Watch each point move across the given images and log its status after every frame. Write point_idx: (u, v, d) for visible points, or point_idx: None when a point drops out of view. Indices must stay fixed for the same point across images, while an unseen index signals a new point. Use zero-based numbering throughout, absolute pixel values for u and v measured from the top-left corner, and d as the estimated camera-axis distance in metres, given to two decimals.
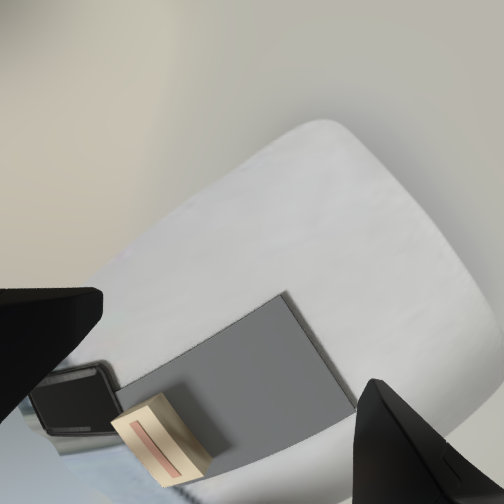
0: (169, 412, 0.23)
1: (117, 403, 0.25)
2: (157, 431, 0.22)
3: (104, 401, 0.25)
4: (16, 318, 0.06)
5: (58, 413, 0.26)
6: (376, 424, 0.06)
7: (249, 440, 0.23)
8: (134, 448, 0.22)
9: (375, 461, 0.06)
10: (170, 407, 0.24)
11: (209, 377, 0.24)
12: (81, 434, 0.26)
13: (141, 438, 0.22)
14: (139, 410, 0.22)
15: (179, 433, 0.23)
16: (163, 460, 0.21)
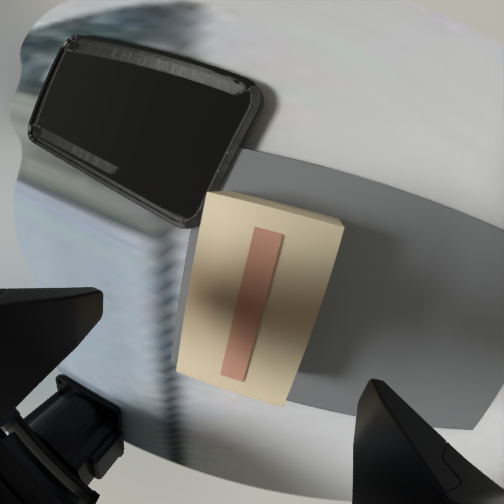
0: None
1: (226, 168, 0.14)
2: (302, 286, 0.11)
3: (200, 146, 0.14)
4: (16, 318, 0.06)
5: (78, 112, 0.15)
6: (376, 424, 0.06)
7: None
8: (203, 276, 0.12)
9: (375, 461, 0.06)
10: None
11: (431, 264, 0.13)
12: (85, 169, 0.15)
13: (247, 273, 0.11)
14: (313, 222, 0.10)
15: None
16: (244, 339, 0.12)
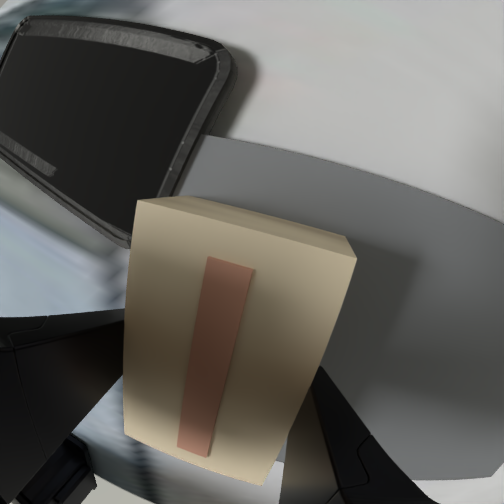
0: None
1: (181, 165, 0.09)
2: (286, 349, 0.07)
3: (148, 136, 0.09)
4: (64, 351, 0.06)
5: (21, 103, 0.10)
6: (303, 409, 0.07)
7: None
8: (140, 325, 0.07)
9: (298, 448, 0.06)
10: None
11: (468, 299, 0.08)
12: (25, 171, 0.11)
13: (200, 326, 0.07)
14: (305, 249, 0.06)
15: None
16: (202, 413, 0.08)
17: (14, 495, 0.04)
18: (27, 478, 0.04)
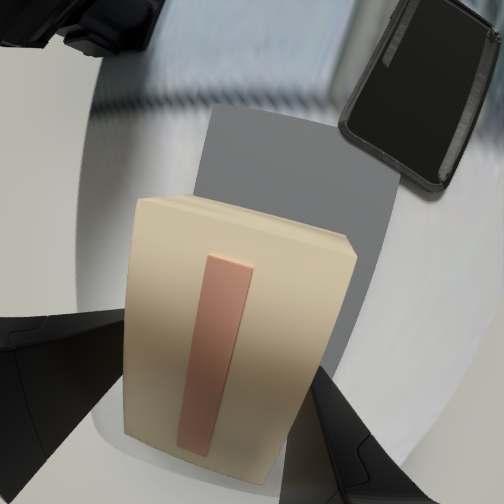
0: None
1: (385, 160, 0.16)
2: (286, 348, 0.07)
3: (402, 140, 0.16)
4: (64, 351, 0.06)
5: (434, 34, 0.13)
6: (303, 409, 0.07)
7: None
8: (140, 324, 0.07)
9: (298, 448, 0.06)
10: None
11: None
12: (386, 36, 0.14)
13: (200, 325, 0.07)
14: (305, 248, 0.06)
15: None
16: (202, 412, 0.08)
17: (14, 495, 0.04)
18: (27, 478, 0.04)
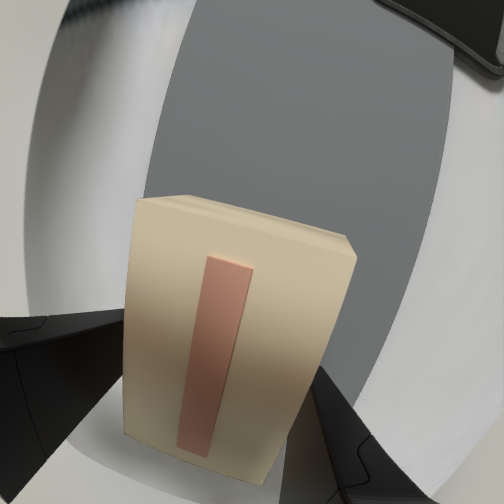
0: None
1: (431, 28, 0.09)
2: (286, 349, 0.07)
3: (446, 13, 0.08)
4: (64, 351, 0.06)
5: None
6: (303, 409, 0.07)
7: (194, 185, 0.13)
8: (140, 325, 0.07)
9: (298, 448, 0.06)
10: None
11: (354, 241, 0.12)
12: None
13: (200, 325, 0.07)
14: (305, 248, 0.06)
15: None
16: (202, 412, 0.08)
17: (14, 495, 0.04)
18: (26, 478, 0.04)
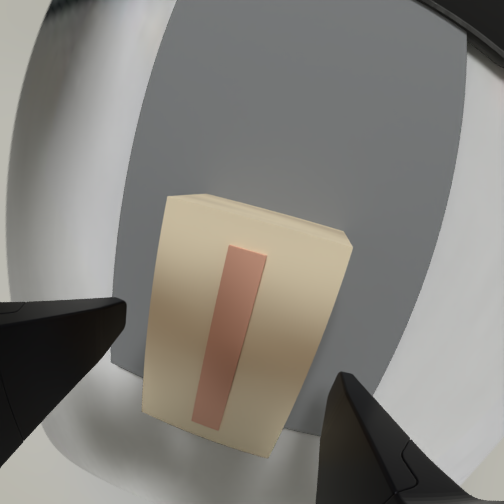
0: None
1: (440, 11, 0.07)
2: (293, 325, 0.08)
3: None
4: (39, 334, 0.06)
5: None
6: (339, 417, 0.06)
7: (177, 184, 0.11)
8: (165, 306, 0.09)
9: (337, 456, 0.06)
10: None
11: (358, 248, 0.10)
12: None
13: (220, 305, 0.08)
14: (310, 239, 0.08)
15: None
16: (217, 385, 0.09)
17: None
18: (4, 458, 0.05)
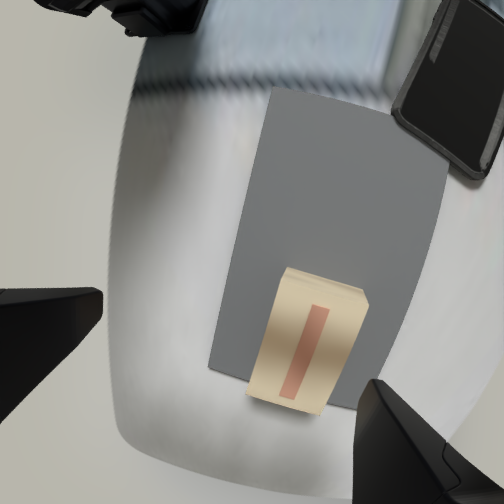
0: None
1: (434, 147, 0.16)
2: (339, 340, 0.16)
3: (448, 130, 0.15)
4: (16, 318, 0.06)
5: (471, 37, 0.13)
6: (376, 424, 0.06)
7: (269, 259, 0.19)
8: (274, 333, 0.17)
9: (375, 461, 0.06)
10: None
11: (370, 298, 0.18)
12: (431, 34, 0.14)
13: (304, 332, 0.17)
14: (350, 302, 0.16)
15: None
16: (298, 372, 0.17)
17: None
18: None
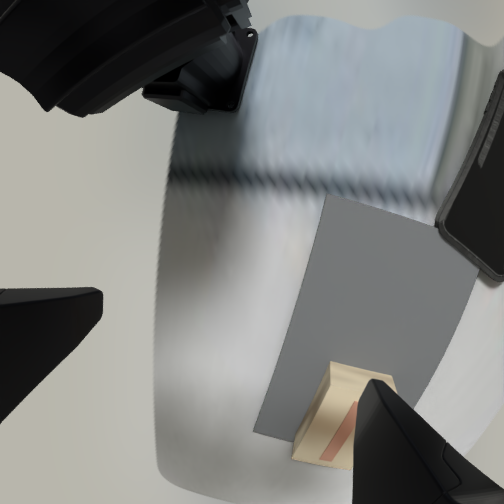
0: None
1: (468, 257, 0.17)
2: None
3: (483, 239, 0.16)
4: (16, 318, 0.06)
5: None
6: (376, 424, 0.06)
7: (314, 355, 0.21)
8: (320, 420, 0.18)
9: (375, 461, 0.06)
10: None
11: (397, 381, 0.20)
12: (482, 133, 0.15)
13: (345, 419, 0.18)
14: None
15: None
16: (337, 445, 0.18)
17: None
18: None
